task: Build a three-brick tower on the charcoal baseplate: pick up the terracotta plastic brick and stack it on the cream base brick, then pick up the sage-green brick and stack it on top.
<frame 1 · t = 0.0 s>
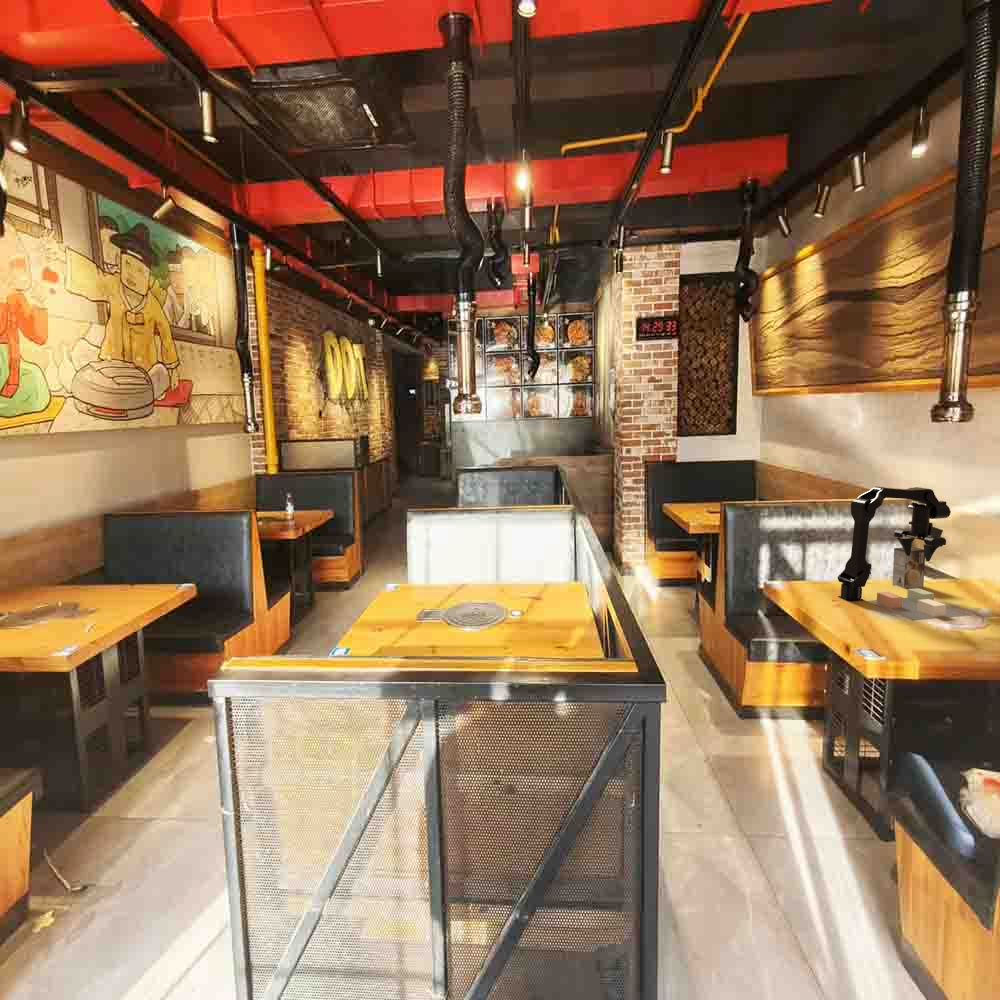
hand: (917, 558, 230), 15 cm above the table, fingers open, 9 cm apart
coffee box: (907, 586, 243), on the table
sage brick: (920, 601, 223), resting on baseplate
baseplate: (916, 608, 216), on the table
terracotta brick: (889, 604, 220), resting on baseplate
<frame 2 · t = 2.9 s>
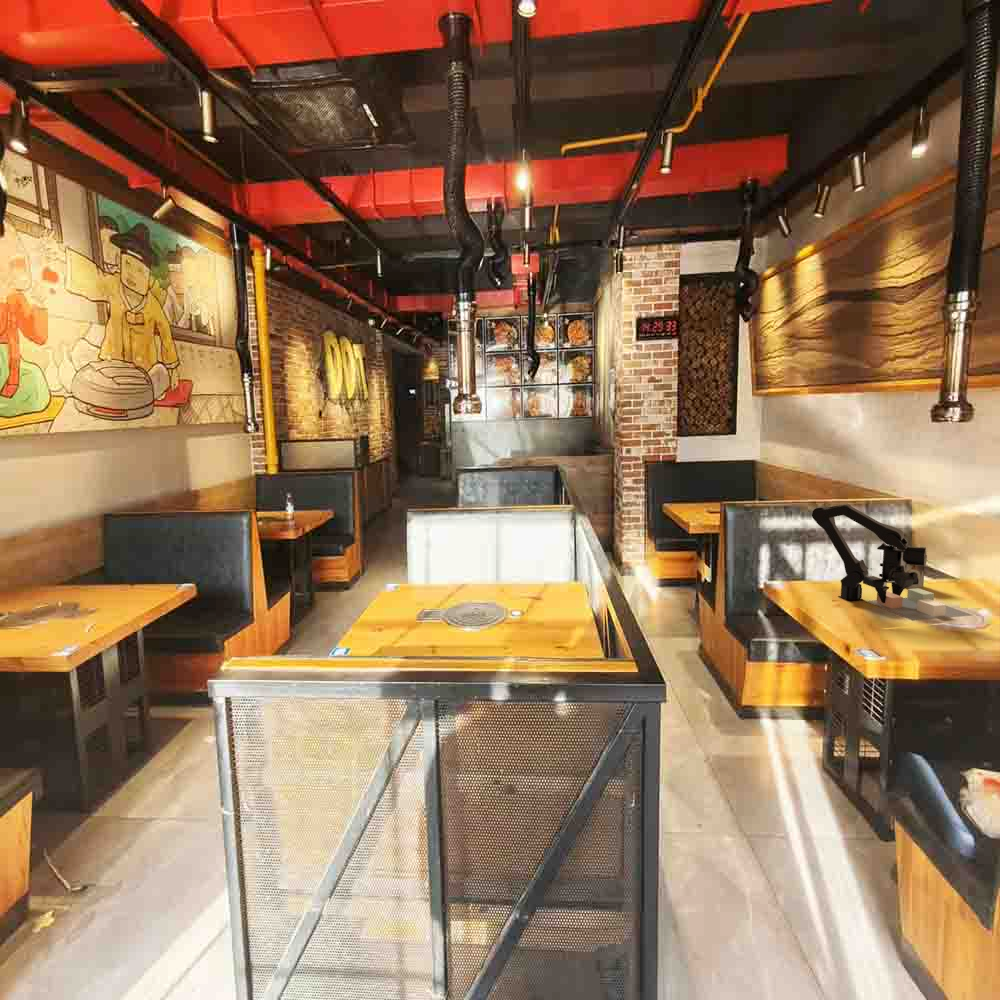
hand: (889, 602, 220), 1 cm above the table, fingers closed on terracotta brick, 5 cm apart
terracotta brick: (889, 604, 220), resting on baseplate, touching gripper
everything else where it was.
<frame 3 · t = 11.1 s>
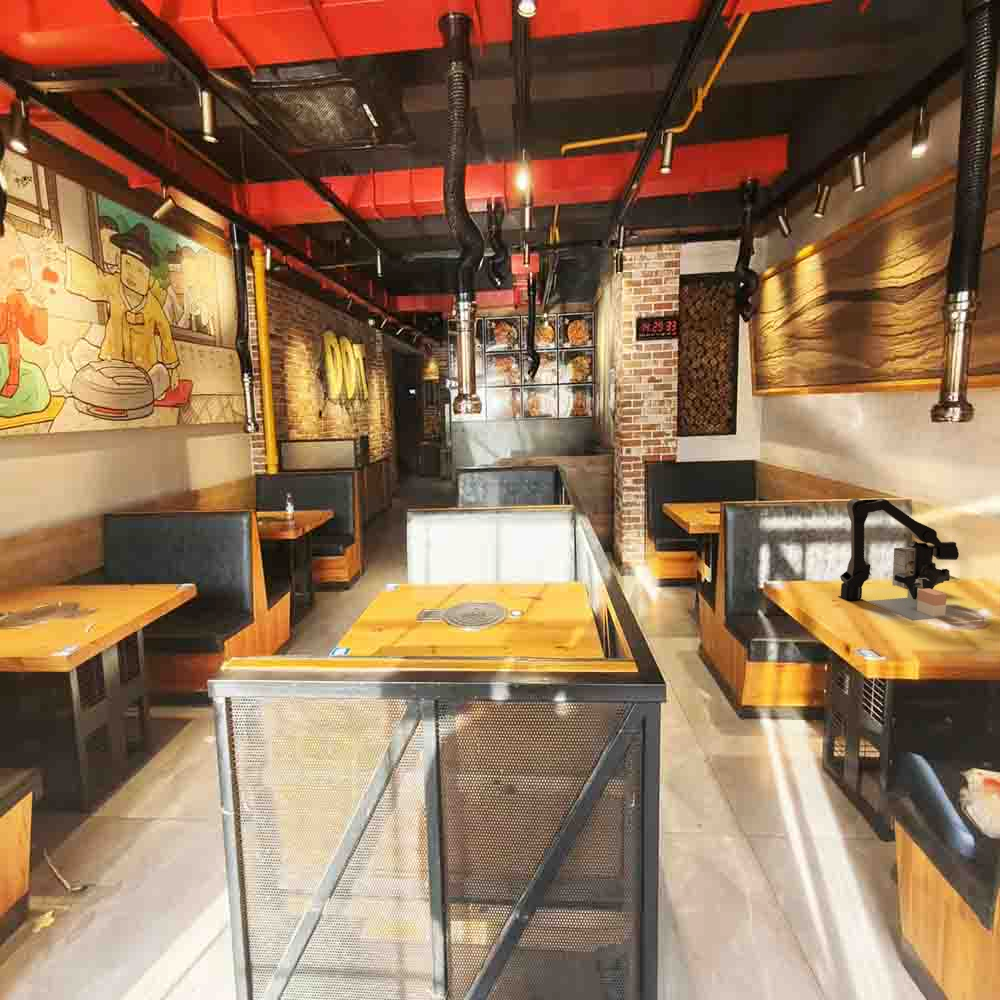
hand: (920, 598, 222), 1 cm above the table, fingers closed on sage brick, 5 cm apart
sage brick: (920, 601, 223), resting on baseplate, touching gripper
terracotta brick: (931, 602, 209), point 4 cm above the table, touching baseplate
everything else where it was.
when the fingers open (10 cm above the table, at t = 14.8 s): sage brick stays where it is, resting on terracotta brick.
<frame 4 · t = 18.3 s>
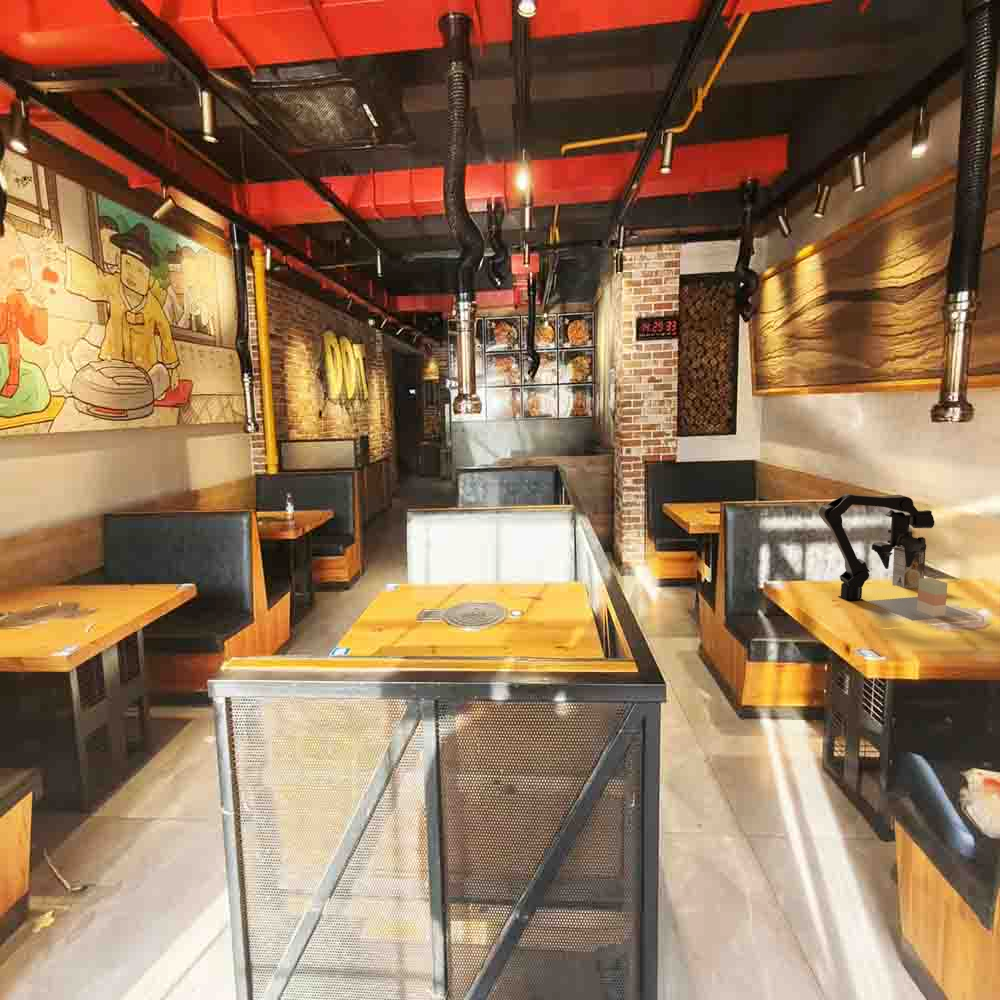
hand: (897, 568, 224), 13 cm above the table, fingers open, 9 cm apart
sage brick: (932, 591, 209), point 8 cm above the table, touching terracotta brick
terracotta brick: (931, 602, 209), point 4 cm above the table, touching baseplate, sage brick
everything else where it was.
at the end: terracotta brick 0.1 cm from the target spot, point 4.4 cm above the table; sage brick 0.0 cm from the target spot, point 8.4 cm above the table; sage brick tilted 0° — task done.
